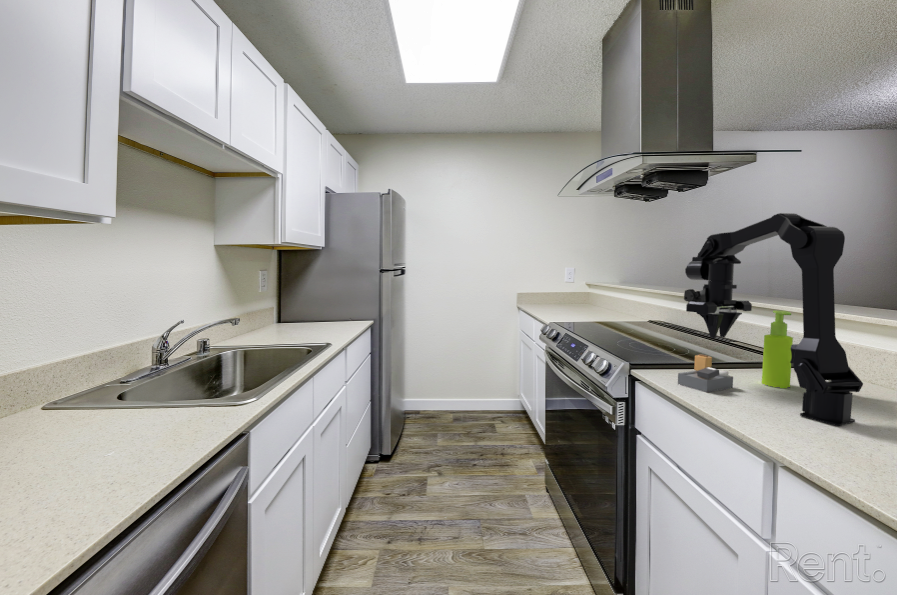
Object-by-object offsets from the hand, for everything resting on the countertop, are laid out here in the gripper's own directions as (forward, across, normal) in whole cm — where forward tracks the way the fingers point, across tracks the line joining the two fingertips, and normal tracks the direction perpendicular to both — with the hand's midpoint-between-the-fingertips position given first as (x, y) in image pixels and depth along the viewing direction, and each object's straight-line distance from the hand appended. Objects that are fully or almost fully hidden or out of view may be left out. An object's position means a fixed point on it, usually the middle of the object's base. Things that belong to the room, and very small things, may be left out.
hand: (717, 337), depth 112 cm
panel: (+12, +8, +2) cm, 15 cm away
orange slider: (+9, +5, 0) cm, 10 cm away
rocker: (+8, +10, +5) cm, 14 cm away
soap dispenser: (+12, -10, +10) cm, 18 cm away
